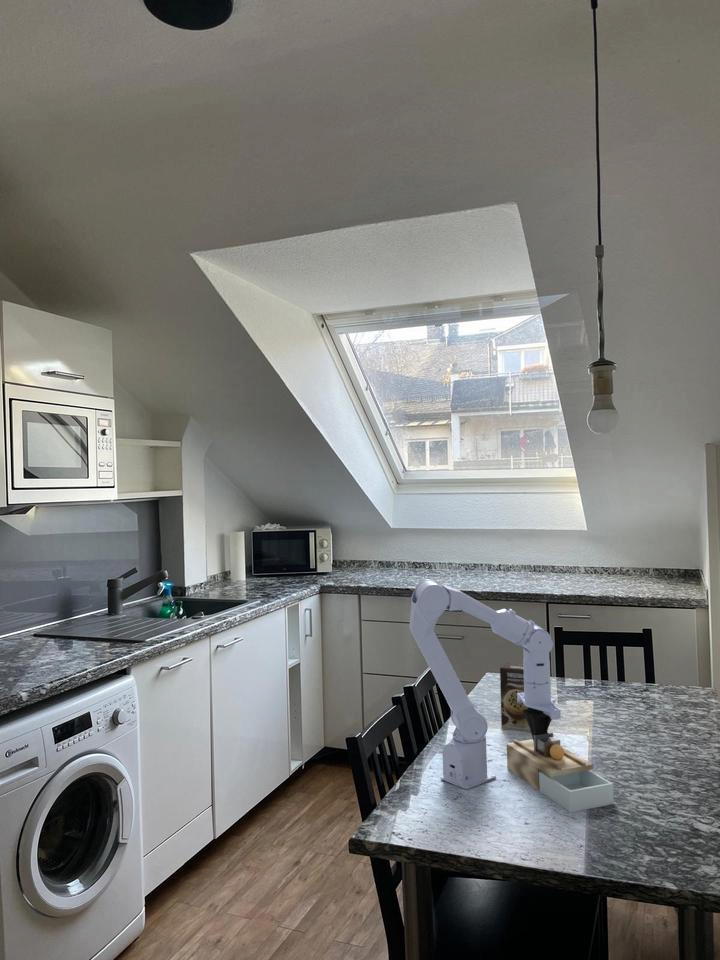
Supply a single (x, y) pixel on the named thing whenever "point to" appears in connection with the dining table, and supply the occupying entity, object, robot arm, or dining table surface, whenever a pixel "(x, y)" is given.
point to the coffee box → (512, 697)
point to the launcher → (541, 762)
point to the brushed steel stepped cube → (544, 743)
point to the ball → (557, 751)
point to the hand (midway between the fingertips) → (539, 742)
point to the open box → (577, 790)
